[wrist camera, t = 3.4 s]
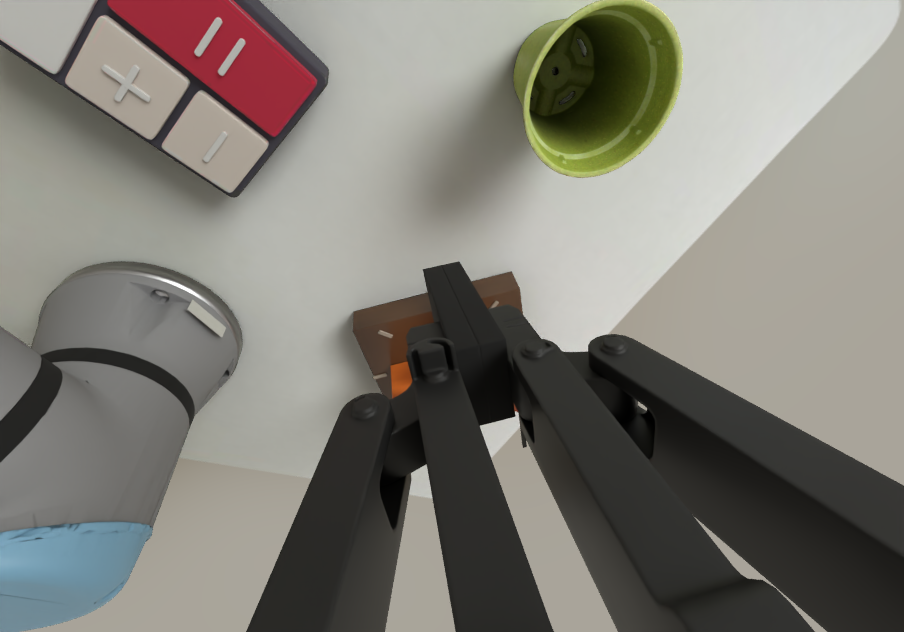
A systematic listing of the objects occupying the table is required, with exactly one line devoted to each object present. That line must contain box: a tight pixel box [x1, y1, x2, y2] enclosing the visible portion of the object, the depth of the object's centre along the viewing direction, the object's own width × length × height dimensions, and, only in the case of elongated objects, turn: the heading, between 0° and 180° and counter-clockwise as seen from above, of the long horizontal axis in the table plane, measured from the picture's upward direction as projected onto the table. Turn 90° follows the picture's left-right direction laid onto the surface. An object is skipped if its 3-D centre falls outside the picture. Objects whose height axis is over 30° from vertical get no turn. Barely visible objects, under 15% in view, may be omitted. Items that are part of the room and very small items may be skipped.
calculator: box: [0, 0, 329, 197], centre depth 26 cm, size 11×4×15 cm
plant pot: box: [513, 0, 683, 178], centre depth 28 cm, size 9×9×9 cm
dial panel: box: [353, 272, 523, 400], centre depth 45 cm, size 16×16×3 cm
